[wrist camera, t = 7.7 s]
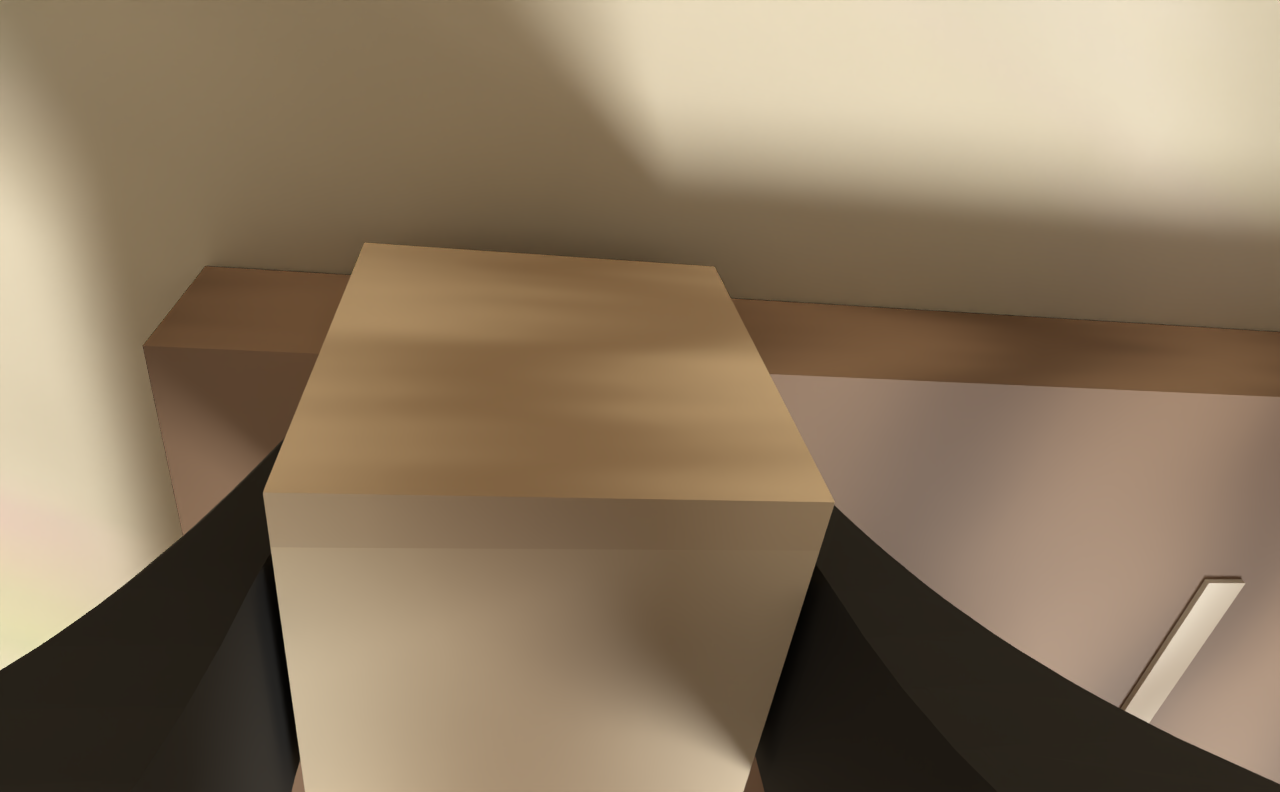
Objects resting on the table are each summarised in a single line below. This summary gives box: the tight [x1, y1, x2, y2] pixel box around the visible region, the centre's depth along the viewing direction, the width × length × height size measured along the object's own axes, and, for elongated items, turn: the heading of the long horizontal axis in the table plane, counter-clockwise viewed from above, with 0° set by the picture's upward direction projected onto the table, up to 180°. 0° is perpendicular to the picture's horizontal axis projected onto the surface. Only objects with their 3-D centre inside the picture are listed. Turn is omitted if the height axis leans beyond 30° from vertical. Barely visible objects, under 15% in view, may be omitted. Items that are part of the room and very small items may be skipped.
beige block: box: [263, 243, 835, 792], centre depth 12 cm, size 5×8×6 cm, turn 173°
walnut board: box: [143, 266, 1280, 792], centre depth 16 cm, size 24×11×3 cm, turn 83°
